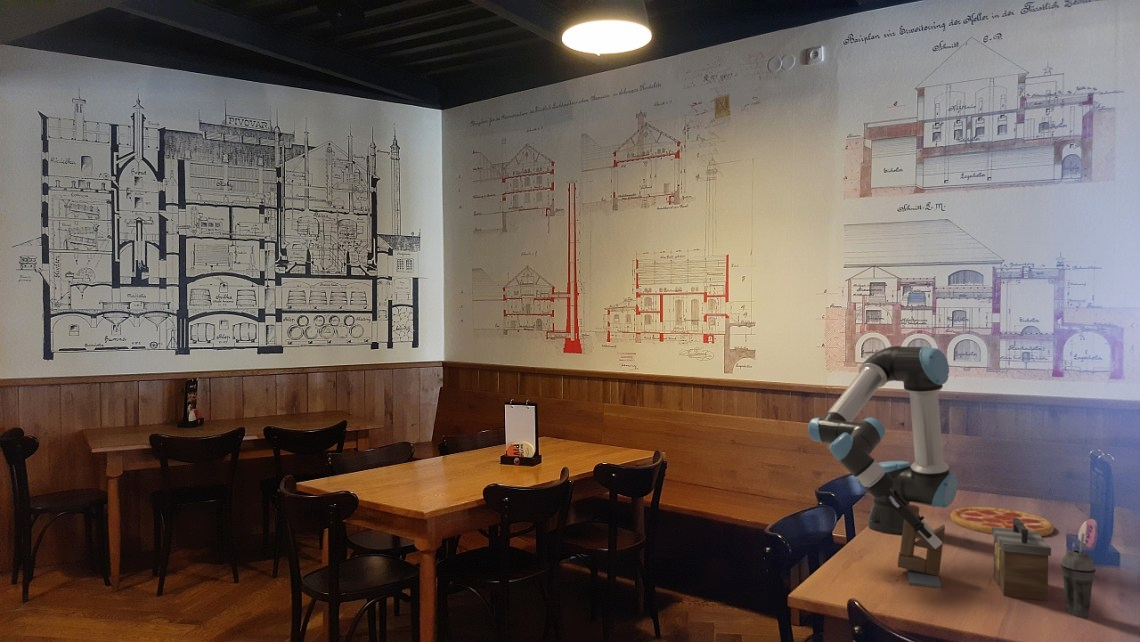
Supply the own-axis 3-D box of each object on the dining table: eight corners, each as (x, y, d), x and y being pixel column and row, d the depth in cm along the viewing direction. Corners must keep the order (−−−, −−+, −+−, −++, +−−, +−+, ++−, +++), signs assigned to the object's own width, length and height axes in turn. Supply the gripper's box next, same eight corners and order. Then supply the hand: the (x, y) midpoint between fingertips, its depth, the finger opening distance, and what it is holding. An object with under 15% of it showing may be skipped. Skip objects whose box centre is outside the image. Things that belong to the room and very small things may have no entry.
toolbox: (991, 575, 219) (992, 514, 219) (1035, 580, 215) (1036, 518, 215) (1002, 596, 203) (1003, 529, 203) (1050, 601, 199) (1051, 534, 199)
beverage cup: (1053, 608, 195) (1054, 529, 195) (1080, 607, 196) (1081, 529, 195) (1074, 619, 188) (1075, 538, 187) (1102, 618, 188) (1103, 537, 188)
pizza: (1074, 539, 257) (1074, 531, 257) (978, 538, 258) (978, 529, 258) (1020, 514, 289) (1020, 507, 289) (934, 513, 290) (935, 505, 290)
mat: (905, 566, 226) (905, 564, 226) (935, 570, 224) (935, 567, 224) (909, 584, 211) (909, 582, 211) (941, 588, 208) (941, 586, 208)
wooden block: (938, 576, 216) (947, 514, 215) (897, 567, 220) (905, 506, 219) (938, 572, 219) (946, 511, 218) (897, 563, 223) (905, 503, 223)
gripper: (865, 482, 230) (924, 543, 225) (866, 494, 214) (930, 560, 209) (884, 466, 229) (945, 527, 223) (887, 477, 213) (952, 543, 207)
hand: (937, 543), depth 216 cm, fingers open, 4 cm apart
